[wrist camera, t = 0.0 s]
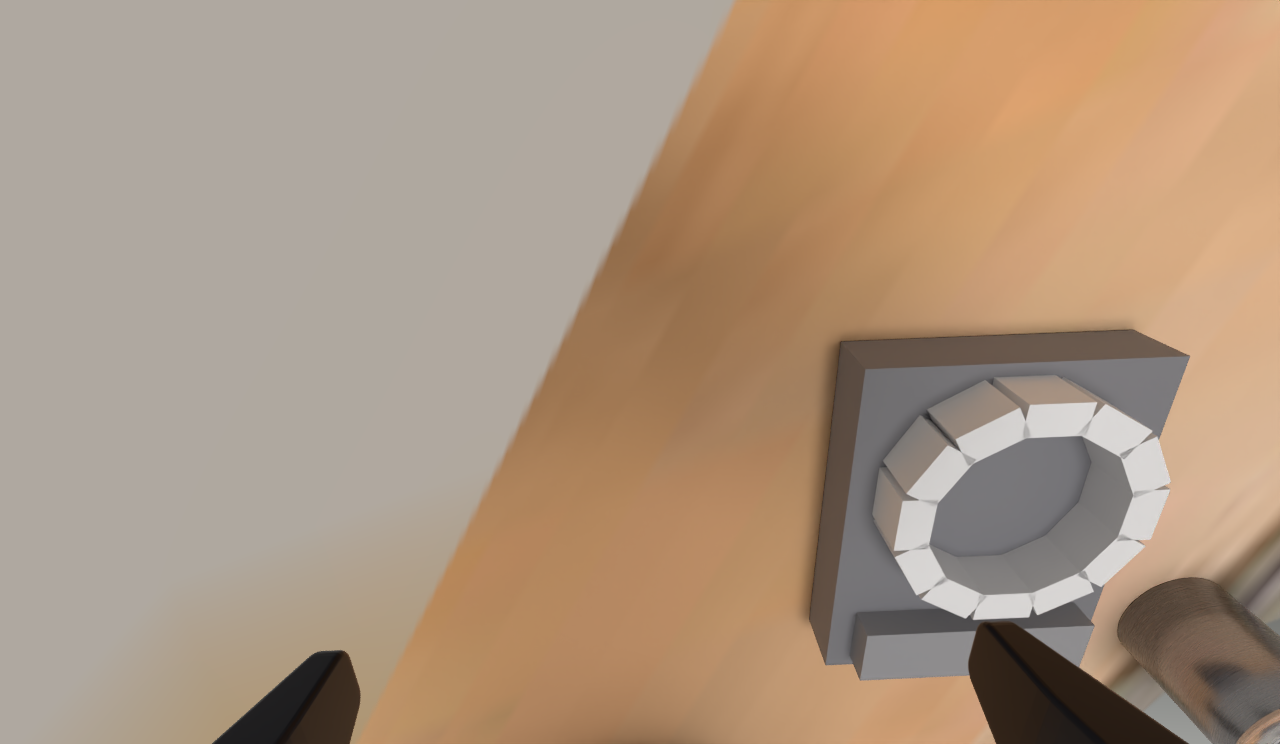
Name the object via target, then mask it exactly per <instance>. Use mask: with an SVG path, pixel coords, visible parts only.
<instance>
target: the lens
mask: <svg viewBox="0 0 1280 744" xmlns="http://www.w3.org/2000/svg"><path fill="white" fill-rule="evenodd" d="M1118 637H1119V640H1120V642H1121V643H1122V645H1123V646H1124V647H1125V648H1126V649H1127V650H1128V651H1129V652H1130V654H1131V655H1132V656H1133V657H1134V658H1135V659H1136V660H1137V661H1138V662H1139V663H1140V665H1141V666H1142V667H1143V668H1144V669H1145V670H1146V671H1147V672H1148V673H1149V674H1150V676H1151V677H1152V678H1153V679H1154V680H1155V681H1156V682H1157V683H1158V684H1159V685H1160V687H1161V688H1162V689H1163V690H1164V691H1165V692H1166V693H1167V694H1168V695H1169V697H1170V698H1171V699H1172V700H1173V701H1174V702H1175V703H1176V704H1177V705H1178V706H1179V707H1180V709H1181V710H1182V711H1183V712H1184V713H1185V714H1186V715H1187V716H1188V717H1189V718H1190V720H1191V721H1192V722H1193V723H1194V724H1195V725H1196V726H1197V727H1198V728H1199V730H1200V731H1201V732H1202V733H1203V734H1204V735H1205V736H1206V737H1207V738H1208V739H1209V741H1210V742H1211V743H1212V744H1280V636H1279V635H1278V634H1277V633H1276V632H1274V631H1273V630H1272V629H1271V628H1269V627H1268V626H1267V625H1266V624H1265V623H1264V622H1262V621H1261V620H1260V619H1259V618H1257V617H1256V616H1255V615H1254V614H1253V613H1251V612H1250V611H1249V610H1248V609H1247V608H1245V607H1244V606H1243V605H1242V604H1240V603H1239V602H1238V601H1237V600H1236V599H1234V598H1233V597H1232V596H1231V595H1230V594H1228V593H1227V592H1226V591H1225V590H1224V589H1222V588H1221V587H1220V586H1219V585H1217V584H1216V583H1214V582H1212V581H1210V580H1206V579H1202V578H1182V579H1177V580H1173V581H1169V582H1166V583H1163V584H1161V585H1158V586H1156V587H1154V588H1152V589H1150V590H1149V591H1147V592H1145V593H1144V594H1142V595H1141V596H1140V597H1138V598H1137V599H1136V600H1135V601H1134V602H1133V603H1132V604H1130V606H1129V607H1128V608H1127V609H1126V610H1125V612H1124V613H1123V615H1122V617H1121V619H1120V621H1119V625H1118Z"/></svg>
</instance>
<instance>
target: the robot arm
mask: <svg viewBox="0 0 1280 744" xmlns="http://www.w3.org/2000/svg"><path fill="white" fill-rule="evenodd" d="M968 671H969V675H970V679H971V682H972V684H973V687H974V689H975V692H976V694H977V697H978V699H979V702H980V704H981V707H982V709H983V712H984V714H985V717H986V719H987V722H988V724H989V727H990V729H991V732H992V734H993V737H994V739H995V742H996V744H1188V743H1187V742H1186V741H1184V740H1183V739H1181V738H1180V737H1178V736H1177V735H1175V734H1174V733H1172V732H1171V731H1170V730H1168V729H1167V728H1165V727H1164V726H1162V725H1161V724H1159V723H1158V722H1157V721H1155V720H1154V719H1152V718H1151V717H1149V716H1148V715H1146V714H1145V713H1144V712H1142V711H1141V710H1139V709H1138V708H1137V707H1135V706H1134V705H1132V704H1131V703H1129V702H1128V701H1127V700H1125V699H1124V698H1122V697H1121V696H1119V695H1118V694H1116V693H1115V692H1114V691H1112V690H1111V689H1109V688H1108V687H1106V686H1105V685H1104V684H1102V683H1101V682H1099V681H1098V680H1096V679H1095V678H1093V677H1092V676H1091V675H1089V674H1088V673H1086V672H1085V671H1083V670H1082V669H1081V668H1079V667H1078V666H1076V665H1075V664H1073V663H1072V662H1070V661H1069V660H1068V659H1066V658H1065V657H1063V656H1062V655H1060V654H1059V653H1058V652H1056V651H1055V650H1053V649H1052V648H1050V647H1049V646H1047V645H1046V644H1045V643H1043V642H1042V641H1040V640H1039V639H1037V638H1036V637H1035V636H1033V635H1032V634H1030V633H1029V632H1027V631H1026V630H1024V629H1023V628H1022V627H1020V626H1019V625H1017V624H1015V623H1014V622H1011V621H1008V620H997V621H984V622H981V623H980V624H979V625H978V627H977V630H976V634H975V637H974V641H973V645H972V648H971V652H970V656H969V659H968ZM359 705H360V688H359V685H358V682H357V678H356V675H355V673H354V669H353V666H352V663H351V660H350V657H349V655H348V654H347V653H346V652H345V651H342V650H337V651H321V652H317V653H314V654H313V655H311V656H310V657H309V658H307V659H306V660H305V661H304V662H303V663H302V664H301V665H300V666H299V667H298V668H296V669H295V670H294V671H293V672H292V673H291V674H289V676H287V677H286V678H285V679H284V680H283V681H282V682H281V683H279V684H278V685H277V686H276V687H275V688H274V689H273V690H272V691H270V692H269V693H268V694H267V695H266V696H265V697H264V698H263V699H261V700H260V701H259V702H258V703H257V704H256V705H255V706H254V707H253V708H251V709H250V710H249V711H248V712H247V713H246V714H245V715H244V716H243V717H241V718H240V719H239V720H238V721H237V722H236V723H235V724H233V725H232V726H231V727H230V728H229V729H228V730H227V731H226V732H225V733H223V734H222V735H221V736H220V737H219V738H218V739H217V740H215V741H214V742H213V743H212V744H350V740H351V736H352V732H353V729H354V725H355V721H356V718H357V713H358V710H359Z"/></svg>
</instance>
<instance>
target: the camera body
mask: <svg viewBox="0 0 1280 744" xmlns="http://www.w3.org/2000/svg"><path fill="white" fill-rule="evenodd" d="M1189 358H1190V356H1189V355H1187V354H1184V353H1182V352H1180V351H1178V350H1176V349H1174V348H1171V347H1169V346H1167V345H1165V344H1163V343H1161V342H1159V341H1156V340H1154V339H1152V338H1150V337H1148V336H1146V335H1143V334H1141V333H1139V332H1137V331H1135V330H1118V331H1093V332H1068V333H1043V334H1018V335H993V336H968V337H943V338H918V339H893V340H868V341H843V342H841V346H840V355H839V364H838V373H837V381H836V390H835V399H834V408H833V416H832V425H831V434H830V443H829V451H828V460H827V469H826V478H825V487H824V495H823V504H822V513H821V522H820V530H819V539H818V548H817V557H816V565H815V574H814V583H813V592H812V601H811V609H810V618H809V620H810V623H811V626H812V629H813V631H814V634H815V637H816V640H817V643H818V645H819V648H820V651H821V654H822V657H823V659H824V662H825V665H841V664H853V665H854V667H855V669H856V672H857V674H858V677H859V679H860V680H881V679H902V678H923V677H945V676H966V675H969V671H968V659H969V656H970V652H971V648H972V645H973V641H974V637H975V634H976V630H977V627H978V625H979V624H980V623H981V622H984V621H997V620H1008V621H1011V622H1014V623H1015V624H1017V625H1019V626H1020V627H1022V628H1023V629H1024V630H1026V631H1027V632H1029V633H1030V634H1032V635H1033V636H1035V637H1036V638H1037V639H1039V640H1040V641H1042V642H1043V643H1045V644H1046V645H1047V646H1049V647H1050V648H1052V649H1053V650H1055V651H1056V652H1058V653H1059V654H1060V655H1062V656H1063V657H1065V658H1066V659H1068V660H1069V661H1070V662H1072V663H1073V664H1075V665H1076V666H1078V667H1079V665H1080V663H1081V660H1082V658H1083V655H1084V652H1085V650H1086V647H1087V644H1088V642H1089V639H1090V636H1091V634H1092V631H1093V629H1094V626H1095V625H1094V624H1093V623H1092V622H1091V619H1092V616H1093V614H1094V611H1095V608H1096V606H1097V603H1098V600H1099V598H1100V595H1101V592H1102V590H1103V587H1104V584H1105V583H1106V582H1107V581H1108V580H1109V579H1110V578H1112V577H1113V576H1114V575H1115V574H1116V573H1117V572H1118V571H1119V570H1120V569H1121V568H1122V567H1124V566H1125V565H1126V564H1127V563H1128V562H1129V561H1130V560H1131V559H1132V558H1133V557H1134V556H1135V555H1137V554H1138V553H1139V552H1140V551H1141V550H1142V549H1143V548H1144V547H1145V545H1144V544H1143V543H1141V542H1140V541H1139V540H1150V539H1151V537H1152V534H1153V532H1154V529H1155V527H1156V524H1157V522H1158V519H1159V517H1160V514H1161V512H1162V509H1163V507H1164V504H1165V502H1166V499H1167V497H1168V494H1169V492H1170V489H1169V488H1168V487H1166V486H1165V485H1166V484H1169V483H1171V481H1170V477H1169V474H1168V471H1167V467H1166V464H1165V460H1164V457H1163V454H1162V450H1161V447H1160V444H1159V438H1160V435H1161V432H1162V430H1163V427H1164V424H1165V422H1166V419H1167V416H1168V414H1169V411H1170V408H1171V406H1172V403H1173V400H1174V398H1175V395H1176V392H1177V390H1178V387H1179V384H1180V382H1181V379H1182V376H1183V374H1184V371H1185V368H1186V366H1187V363H1188V360H1189Z"/></svg>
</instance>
